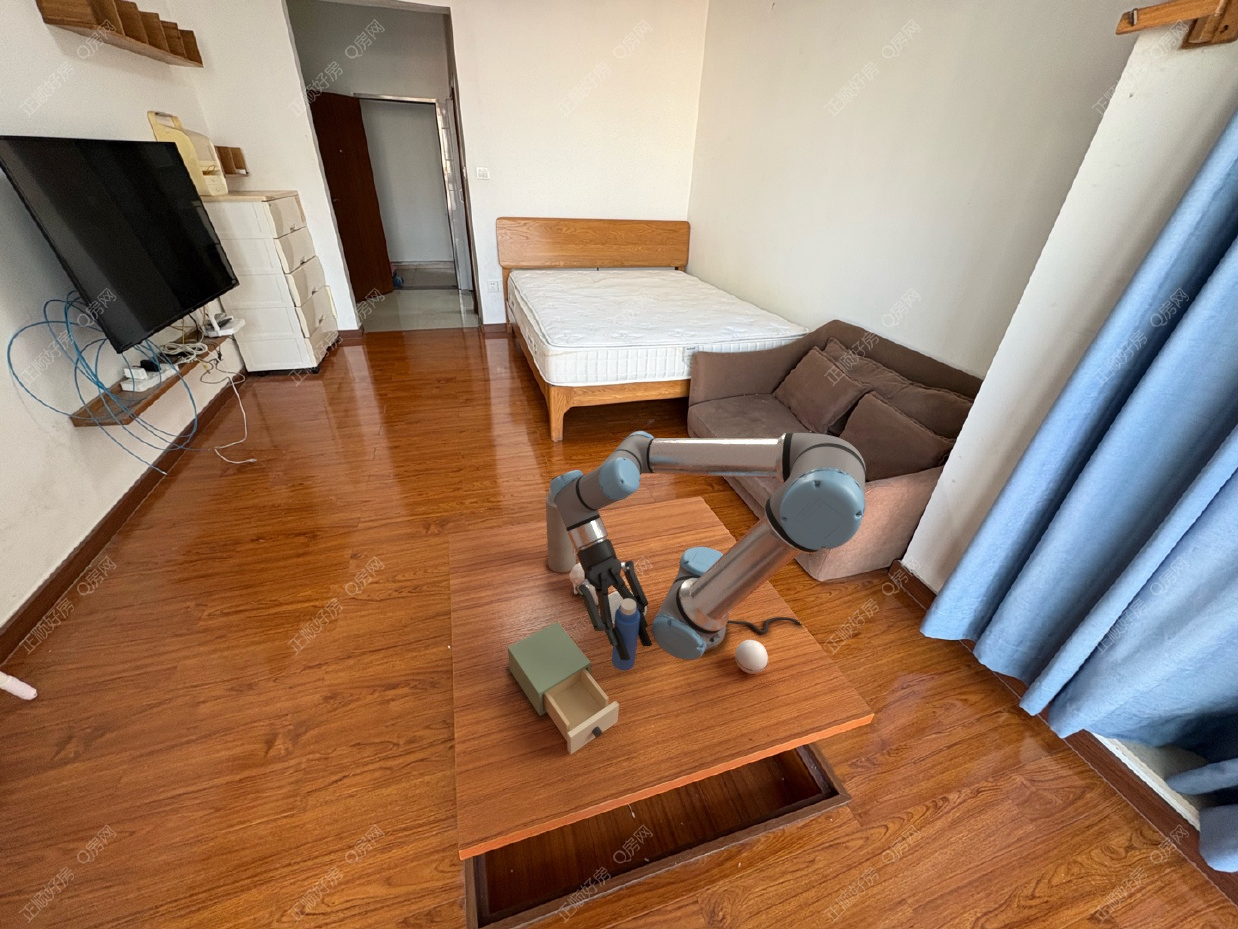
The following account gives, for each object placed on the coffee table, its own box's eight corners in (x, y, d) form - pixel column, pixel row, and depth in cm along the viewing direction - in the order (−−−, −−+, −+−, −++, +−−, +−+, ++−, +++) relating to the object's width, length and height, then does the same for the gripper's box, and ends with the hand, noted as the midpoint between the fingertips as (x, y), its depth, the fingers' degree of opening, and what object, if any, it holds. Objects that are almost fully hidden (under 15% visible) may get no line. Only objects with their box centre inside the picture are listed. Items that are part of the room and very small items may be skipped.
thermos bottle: (579, 556, 146) (580, 474, 131) (571, 574, 139) (571, 491, 125) (552, 551, 147) (550, 470, 133) (543, 569, 140) (540, 486, 126)
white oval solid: (725, 661, 118) (730, 640, 114) (749, 649, 121) (755, 628, 117) (754, 696, 110) (761, 674, 107) (779, 682, 114) (786, 661, 110)
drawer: (621, 726, 102) (622, 709, 99) (574, 760, 96) (574, 743, 93) (583, 677, 111) (583, 660, 108) (538, 705, 105) (537, 688, 102)
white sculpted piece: (586, 554, 134) (616, 582, 127) (584, 576, 139) (613, 604, 132) (567, 564, 130) (597, 594, 123) (566, 586, 135) (594, 616, 128)
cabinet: (590, 685, 111) (591, 662, 107) (540, 716, 104) (538, 693, 100) (557, 643, 120) (557, 621, 116) (509, 669, 113) (507, 647, 109)
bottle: (637, 654, 108) (644, 598, 99) (631, 673, 104) (637, 617, 95) (615, 648, 109) (620, 591, 101) (608, 666, 105) (612, 609, 96)
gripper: (618, 532, 111) (660, 631, 109) (547, 563, 101) (592, 674, 99) (635, 525, 105) (680, 631, 103) (561, 558, 95) (609, 676, 93)
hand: (636, 652), depth 101 cm, fingers closed on bottle, 5 cm apart
